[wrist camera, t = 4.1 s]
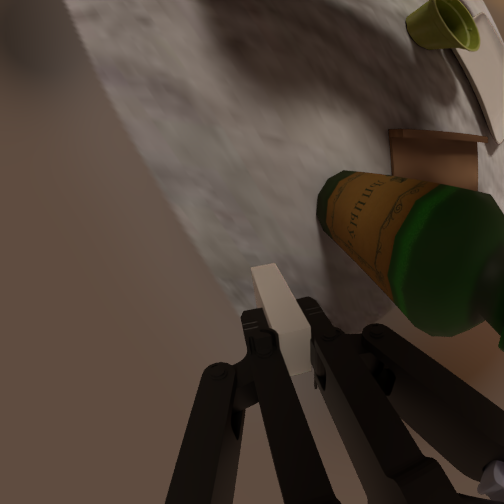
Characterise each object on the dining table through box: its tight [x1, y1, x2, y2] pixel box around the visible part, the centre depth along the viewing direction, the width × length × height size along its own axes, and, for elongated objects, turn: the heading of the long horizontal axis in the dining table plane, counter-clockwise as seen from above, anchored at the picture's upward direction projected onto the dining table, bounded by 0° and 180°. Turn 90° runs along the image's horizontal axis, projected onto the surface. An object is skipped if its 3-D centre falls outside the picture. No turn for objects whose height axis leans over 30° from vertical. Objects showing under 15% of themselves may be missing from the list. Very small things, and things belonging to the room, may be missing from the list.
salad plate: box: [451, 12, 504, 144], centre depth 25 cm, size 21×21×3 cm
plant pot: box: [406, 0, 480, 52], centre depth 19 cm, size 9×9×9 cm
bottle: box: [317, 170, 504, 352], centre depth 18 cm, size 11×11×28 cm
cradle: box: [388, 129, 488, 191], centre depth 31 cm, size 18×20×3 cm
